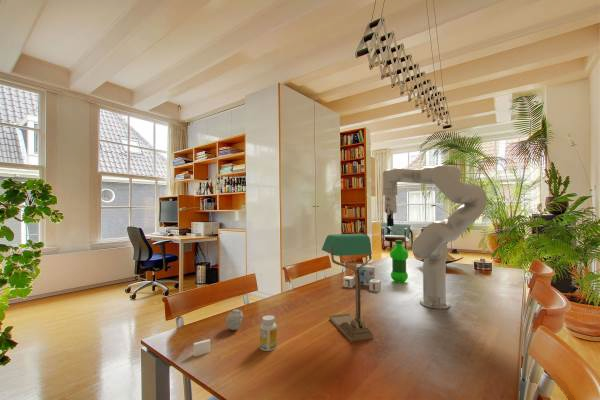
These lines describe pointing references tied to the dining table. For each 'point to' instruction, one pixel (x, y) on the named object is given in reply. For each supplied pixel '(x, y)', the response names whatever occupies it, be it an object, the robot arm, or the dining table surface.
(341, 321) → the banker's lamp
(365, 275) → the light bulb box
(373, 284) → the numbered block 1
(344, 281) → the numbered block 7
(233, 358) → the dining table surface
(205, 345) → the eraser
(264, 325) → the supplement bottle
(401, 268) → the plastic bottle
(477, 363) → the dining table surface
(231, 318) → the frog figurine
